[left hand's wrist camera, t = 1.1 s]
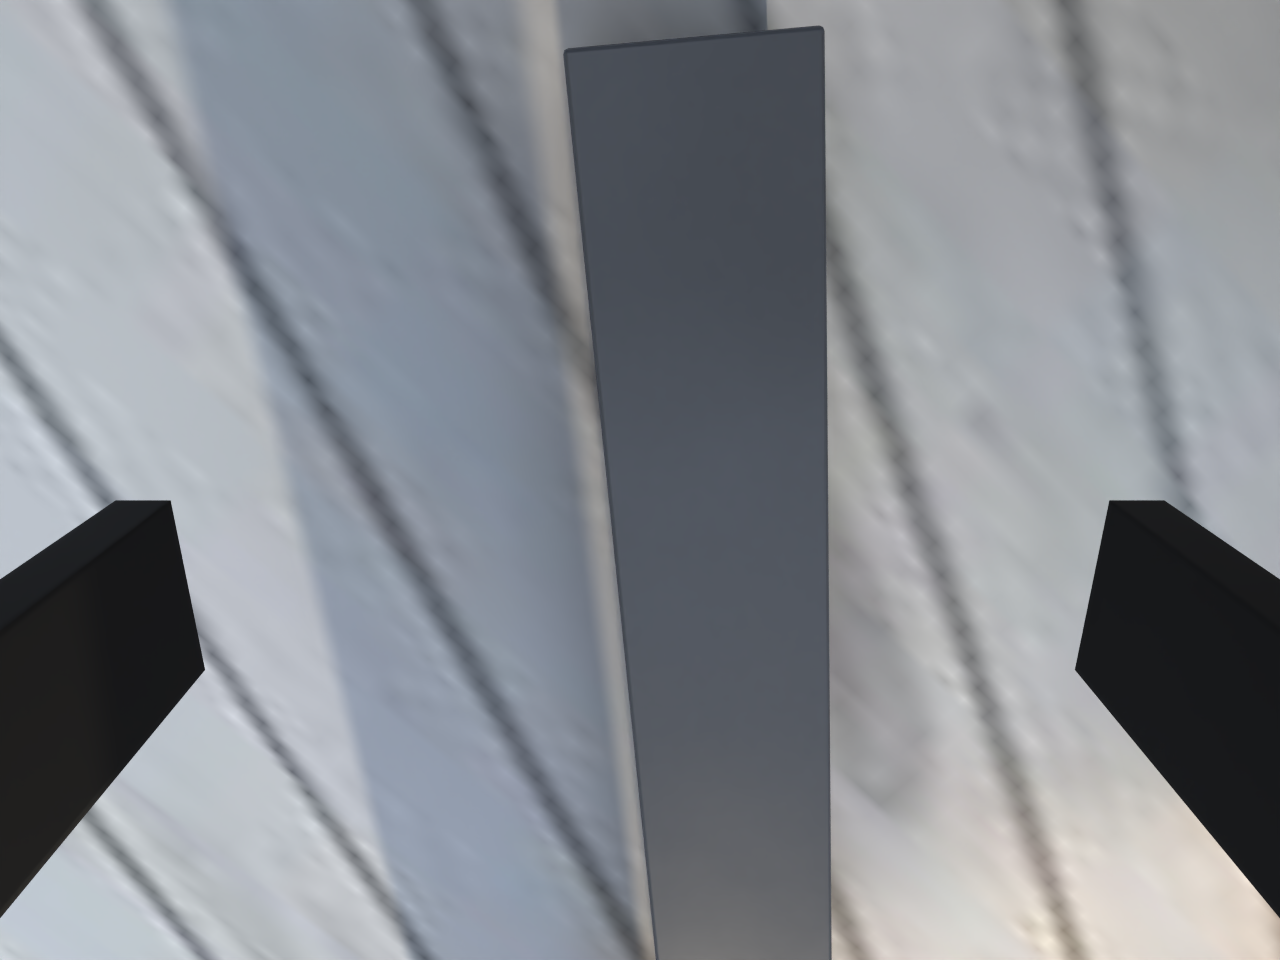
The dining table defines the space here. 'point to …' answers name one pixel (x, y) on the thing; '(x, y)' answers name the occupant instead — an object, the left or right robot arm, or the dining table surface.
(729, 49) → the beam
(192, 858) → the dining table surface
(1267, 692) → the left robot arm
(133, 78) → the dining table surface
